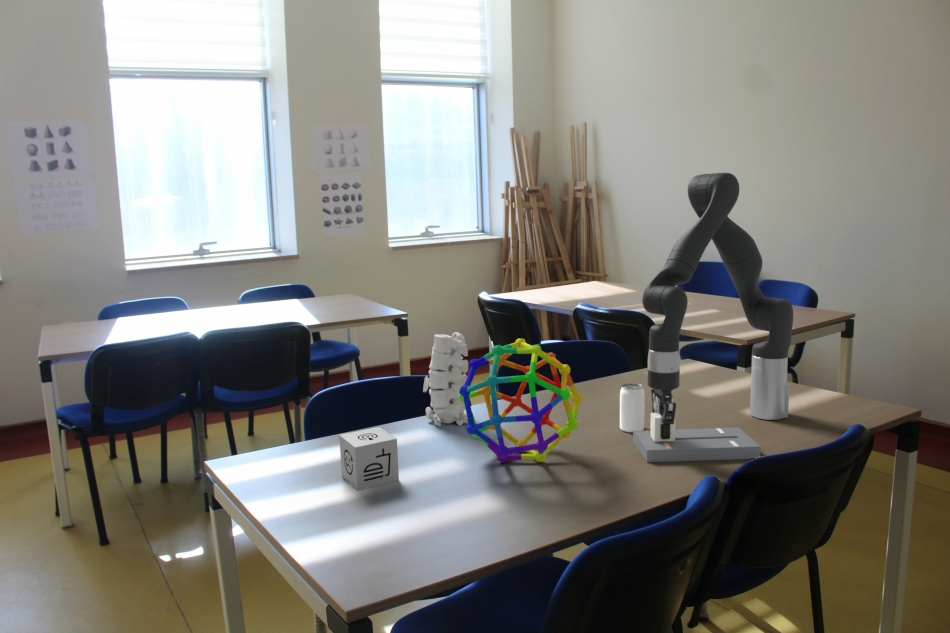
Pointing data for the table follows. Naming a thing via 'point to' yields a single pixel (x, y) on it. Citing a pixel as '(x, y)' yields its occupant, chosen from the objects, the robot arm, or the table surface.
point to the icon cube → (369, 458)
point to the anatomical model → (447, 379)
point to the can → (632, 407)
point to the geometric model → (536, 416)
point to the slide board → (698, 445)
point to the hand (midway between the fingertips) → (662, 435)
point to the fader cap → (656, 428)
